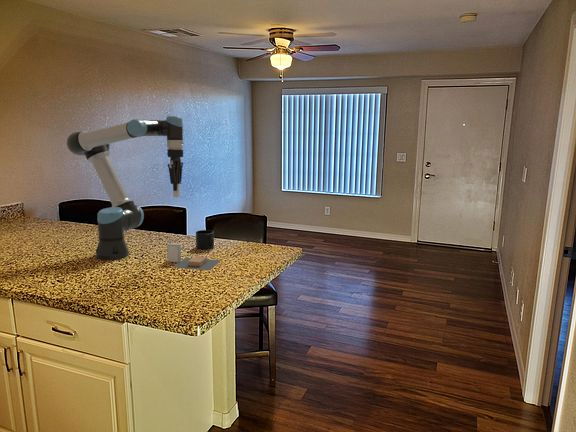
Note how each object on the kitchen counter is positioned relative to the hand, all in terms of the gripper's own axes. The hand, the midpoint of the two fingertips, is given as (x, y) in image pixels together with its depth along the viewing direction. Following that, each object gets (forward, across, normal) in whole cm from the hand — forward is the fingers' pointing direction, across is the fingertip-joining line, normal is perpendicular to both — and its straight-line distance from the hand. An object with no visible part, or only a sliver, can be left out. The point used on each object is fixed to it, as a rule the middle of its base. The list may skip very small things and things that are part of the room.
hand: (176, 197), depth 221 cm
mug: (+30, +14, -10) cm, 34 cm away
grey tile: (+29, -13, -4) cm, 32 cm away
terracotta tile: (+28, -9, -16) cm, 33 cm away
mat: (+29, -14, -16) cm, 36 cm away
